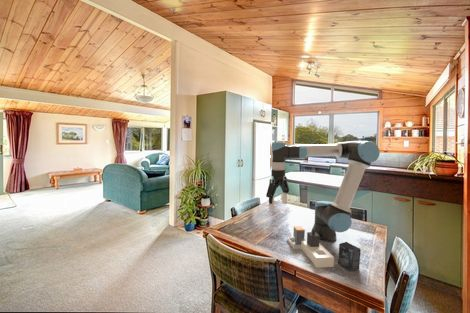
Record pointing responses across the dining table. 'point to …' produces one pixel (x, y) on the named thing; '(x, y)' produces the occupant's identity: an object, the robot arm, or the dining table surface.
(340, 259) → the box
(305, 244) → the beige socket block
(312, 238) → the twin plug
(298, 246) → the tray
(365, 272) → the dining table surface
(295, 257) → the dining table surface
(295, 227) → the plug
